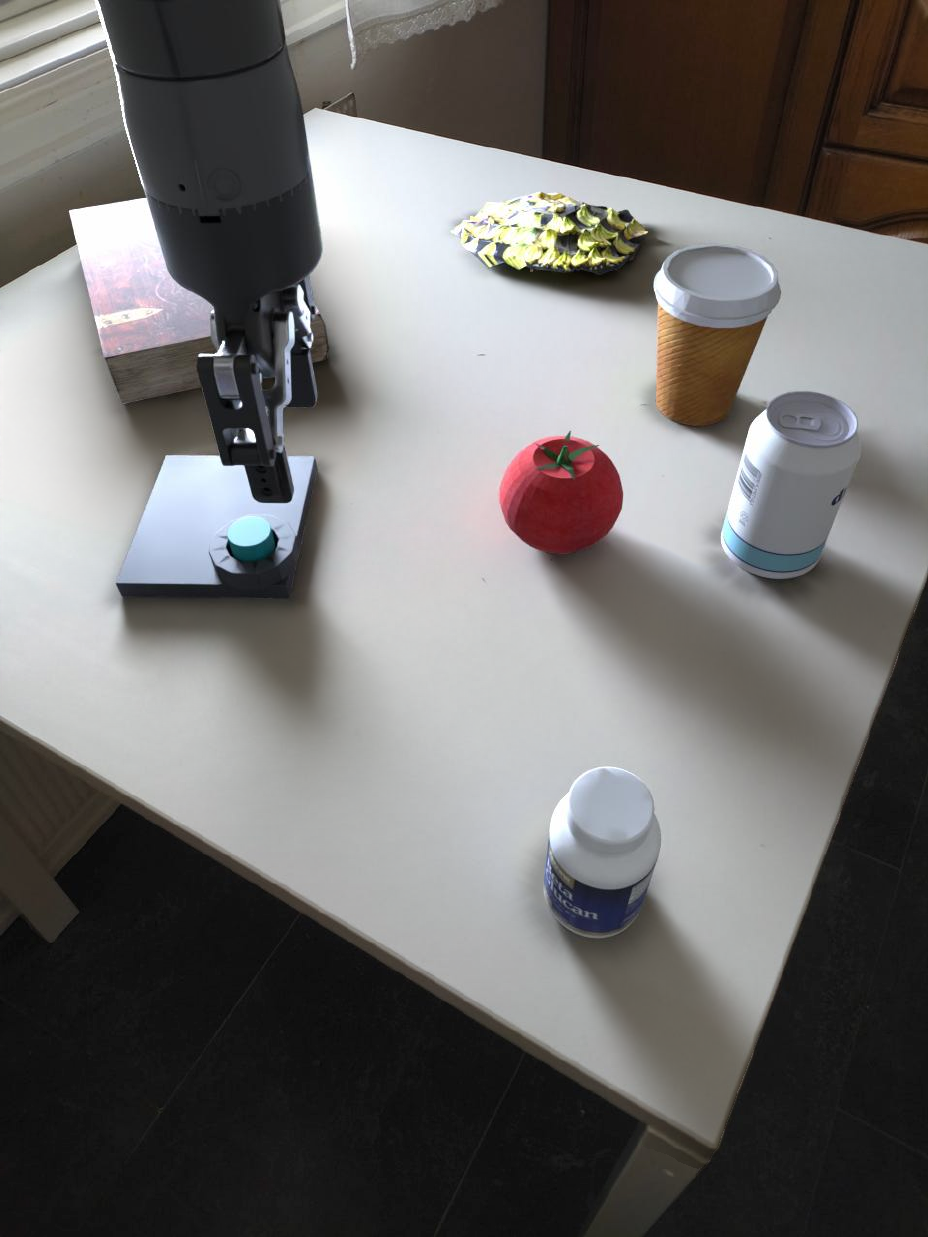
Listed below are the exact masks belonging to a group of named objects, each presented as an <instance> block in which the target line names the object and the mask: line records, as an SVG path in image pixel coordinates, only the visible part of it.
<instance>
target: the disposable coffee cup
mask: <svg viewBox="0 0 928 1237" xmlns="http://www.w3.org/2000/svg"><path fill="white" fill-rule="evenodd" d="M653 290H654V293H655V298H656V301H657V327H656V329H657V331H656V333H657V335H656V336H657V337H656V338H657V339H656V340H657V341H656V381H655V382H656V387H655V392H656V393H655V403H656V404H655V405H656V407H657V409H658V410H659V412H660V413H661V414H662V415H663V416H665V417H666V418H668V419H670V420H671V421H674V422H676V423H678V424H682V425H687V426H694V427H695V426H701V427H702V426H709V425H710V426H711V425H714V424H716V423H719V422H722V421H723V420H724V419H726V418H727V417H728V415H730V412H731V410H732V406H733V404H734V402H735V400H736V397H737V394H738V391H739V389H740V386H741V384H742V381H743V379H744V377H745V374H746V372H747V370H748V367H749V364H750V362H751V359H752V357H753V354H754V352H755V349H756V348H757V344H758V342H759V339H760V337H761V335H762V332H763V329H764V327H765V325H766V322H767V320H768V317H769V315H770V314H772V311H773V310H774V309H775V308H776V307H777V305H779V302H780V299H781V296H782V289H781V286H780V283H779V271H778V270H777V268H776V265H774V263H773V262H772V261H771V260H769V259H768V258H767V257H765V256H764V255H762V254H760V253H758V252H755V251H754V250H752V249H748V248H745V247H741V246H738V245H732V244H723V243H722V244H721V243H701V244H694V245H689V246H686V247H683V248H680V249H678V250H675V251H673V252H672V253H671V254H669V255H668V256H667V257H666V259H665V260H664V261H663V264H662V266H661V268H660V270H659V271H658V272H657V273H656V275H655V277H654V280H653Z"/></svg>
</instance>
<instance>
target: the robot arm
mask: <svg viewBox="0 0 928 1237" xmlns="http://www.w3.org/2000/svg"><path fill="white" fill-rule="evenodd" d="M94 1H95V5H96V8H97V11H98V15H99V19H100V22H101V25H102V28H103V32H104V35H105V39H106V42H107V46H108V49H109V53H110V56H111V59H112V62H113V63H112V64H113V67H114V72H115V76H116V81H117V86H118V93H119V99H120V105H121V111H122V117H123V122H124V127H125V131H126V134H127V137H128V140H129V144H130V148H131V152H132V155H133V157H134V160H135V164H136V167H137V171H138V174H139V178H140V182H141V185H142V188H143V191H144V195H145V198H146V199H147V202H148V205H149V209H150V212H151V216H152V219H153V223H154V226H155V230H156V233H157V236H158V240H159V243H160V247H161V250H162V253H163V257H164V260H165V264H166V267H167V270H168V272H169V274H170V275H171V277H172V278H173V279H174V280H175V281H176V282H177V283H178V284H179V285H180V286H182V287H183V288H185V289H187V290H188V291H191V292H193V293H195V294H197V295H199V296H201V297H202V298H204V299H205V300H207V301H208V302H209V303H210V304H211V305H212V306H213V307H214V311H212V313H211V317H210V327H211V340H212V343H213V344H214V346H215V347H216V349H217V354H200V355H199V356H198V360H197V372H198V376H199V379H200V383H201V387H200V388H201V390H202V394H203V398H204V402H205V405H206V409H207V414H208V417H209V420H210V424H211V428H212V433H213V436H214V439H215V443H216V448H217V451H218V454H219V455H218V456H220V459H221V462H222V464H223V466H234V465H244V467H245V471H246V474H247V478H248V482H249V485H250V489H251V493H252V496H253V498H254V499H255V500H256V501H257V502H260V503H289V502H290V501H291V500H292V497H293V493H294V485H293V480H292V476H291V471H290V467H289V463H288V458H287V456H288V454H287V449H286V446H285V445H286V444H285V442H286V441H285V436H284V420H283V419H284V416H283V410H284V408H288V409H295V408H296V409H312V408H314V407H315V406H316V405H317V400H318V396H319V394H318V387H317V383H316V377H315V371H314V366H313V363H312V360H311V354H310V349H306V348H311V345H312V342H313V333H311V328H310V321H314V319H315V315H316V307H317V305H316V306H314V304H315V301H314V300H315V299H314V295H313V290H312V284H311V279H310V274H311V273H313V271H314V270H315V268H316V267H318V265H319V263H320V262H321V258H322V255H323V251H324V250H323V249H324V243H323V237H322V230H321V222H320V218H319V211H318V204H317V197H316V189H315V183H314V177H313V171H312V163H311V157H310V150H309V142H308V136H307V130H306V123H305V119H304V118H305V115H304V111H303V105H302V100H301V95H300V92H299V91H300V90H299V87H298V83H297V80H296V77H295V74H294V73H295V72H294V70H293V66H292V62H291V58H290V54H289V49H288V45H287V40H286V39H287V38H286V37H287V36H286V31H285V25H284V18H283V12H282V5H281V0H94ZM272 378H275V380H274V384H273V386H272V387H271V388H268V389H263V388H262V382H263V379H272Z"/></svg>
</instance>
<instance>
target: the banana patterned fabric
mask: <svg viewBox="0 0 928 1237" xmlns="http://www.w3.org/2000/svg"><path fill="white" fill-rule="evenodd" d="M450 232H451V233H452V234H453V235H456V236H457V237H459V238H460V239H461V241H460V242H461V245H462V246H463V247H464V248H465V249H466V250H467V251H468V252H470V253H471V254H472V255H473V256H474V257H475V258H476V259H478V260H479V261H480V262H481V263H482V264H483V265H485V267H487V268H488V269H490V268H492V267H494V266H498V265H500V264H501V265H502V264H505V263H506V264H507V265H508V266H511V267H512V268H514V269H516V270H518V271H520V270H521V269H523V268H525V267H527V268H530V269H529V271H530V272H533V271H534V270H536V271H538V270H539V271H541V270H542V271H546V272H551V271H552V272H554V273H573V272H574V271H575V270H576V272H578V271H580V270H583V271H585V272H590V273H593V274H595V275H598V276H601V275H603V274H606V273H609V272H610V271H614V272H615V271H617V272H619V271H620V269H621V268H622V267H623V266H624V265H625V264H626V263H627V262H631V261H633V259H635V255H636V253H637V252H638V251H639V249H640V248H641V247H642V241H643V240H644V238H645V237H646V236H647V234H648V233H649V231H647V230H646V227H645V226H644V225H642V223H640V222H639V221H638V220H636V219H635V217H634V216H633V215H632V214H631V212H630V210H629V209H623V210H620V211H616V210H615V209H614V208H613V207H609V208H608V207H607V206H604V205H593V204H589V203H586V202H583V201H580V200H576V199H574V198H571V197H568V196H566V195H564V194H562V193H560V192H553V193H552V192H551V193H546V192H542V191H538V192H535V193H531V194H528V195H522V196H520V197H519V196H518V197H516V198H513V199H510V200H507V201H506V200H505V201H503V202H486V204H485V206H484V207H483V208H481V210H480V211H479V212H478V213H477V214H476V215H475V216H473V215H470V218H469V220H467V219H464V220H463V221H462V222H461V223H460V224H459V225H458V226H455V228H454V230H451V231H450Z"/></svg>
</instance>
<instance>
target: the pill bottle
mask: <svg viewBox="0 0 928 1237" xmlns="http://www.w3.org/2000/svg"><path fill="white" fill-rule="evenodd" d="M655 810H656V809H655V802H654V797H653V795H652V793H651V790H650V789H649V787H648V786H647V785H646V783H644V781H643V780H642V779H641V778H639V777H638V776H637V775H635V774H634V773H632V772H630V771H628V770H626V769H623V768H620V767H616V766H599V767H595V768H592V769H590V770H587V771H585V772H584V773H582V774H580V776H579V777H578V778H577V779H576V780H575V781H574V782H573V784H572V785H571V786H570V789H569V792H568V793H567V794H566V795H565V796H564V797H563V798H561V800H560V801H559V802H558V804H557V805H556V807H555V809H554V811H553V813H552V816H551V818H550V824H549V832H548V838H547V839H548V840H547V849H546V859H545V865H544V866H545V867H544V874H543V895H544V900H545V902H546V904H547V907H548V909H549V911H550V913H551V914H552V916H553V917H554V918H555V919H556V920H557V922H559V924H560V925H561V926H563V927H564V928H566V929H567V930H568V931H570V932H572V933H574V934H576V935H578V936H582V937H585V938H590V939H606V938H610V937H614V936H616V935H619V934H620V933H622V932H623V931H625V930H627V929H628V928H629V927H630V926H631V925H632V924H633V923H634V922H635V921H636V919H637V917H638V916H639V914H640V912H641V910H642V907H643V905H644V902H645V898H646V896H647V892H648V889H649V886H650V883H651V880H652V877H653V873H654V871H655V867H656V864H657V862H658V858H659V856H660V855H659V854H660V851H661V845H662V831H661V827H660V823H659V820H658V817H657V814H656V813H655Z"/></svg>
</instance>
